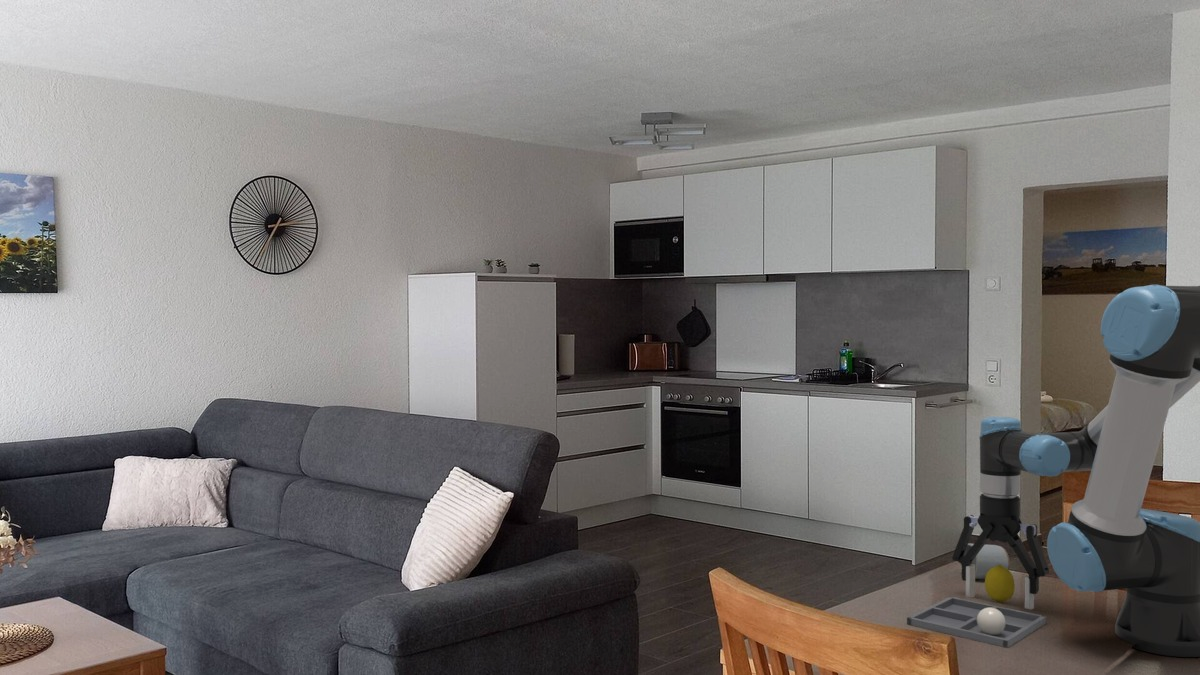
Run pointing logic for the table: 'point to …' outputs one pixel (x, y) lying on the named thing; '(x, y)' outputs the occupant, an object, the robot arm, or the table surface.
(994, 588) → the lemon
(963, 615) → the compartment tray
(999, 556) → the ceramic mug
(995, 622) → the cream egg
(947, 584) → the table surface
